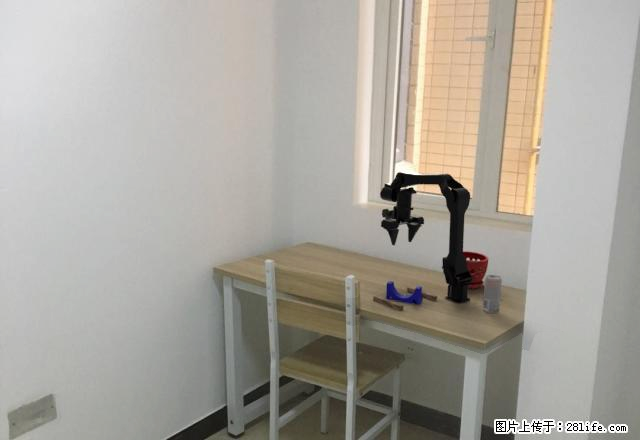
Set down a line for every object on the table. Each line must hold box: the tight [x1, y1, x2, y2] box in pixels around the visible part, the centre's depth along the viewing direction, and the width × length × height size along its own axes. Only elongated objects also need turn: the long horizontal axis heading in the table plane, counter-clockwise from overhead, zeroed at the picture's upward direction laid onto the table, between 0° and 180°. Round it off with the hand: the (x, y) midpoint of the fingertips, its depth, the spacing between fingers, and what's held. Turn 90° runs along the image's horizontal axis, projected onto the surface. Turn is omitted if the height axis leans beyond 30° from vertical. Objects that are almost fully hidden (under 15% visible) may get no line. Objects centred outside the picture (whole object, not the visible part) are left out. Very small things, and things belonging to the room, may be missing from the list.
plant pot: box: [458, 250, 489, 289], centre depth 229 cm, size 13×13×12 cm
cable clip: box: [385, 280, 424, 306], centre depth 211 cm, size 12×4×6 cm, turn 63°
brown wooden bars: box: [372, 286, 438, 311], centre depth 211 cm, size 13×19×2 cm
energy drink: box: [482, 274, 503, 314], centre depth 201 cm, size 5×5×12 cm
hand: (401, 243), depth 231 cm, fingers open, 9 cm apart
